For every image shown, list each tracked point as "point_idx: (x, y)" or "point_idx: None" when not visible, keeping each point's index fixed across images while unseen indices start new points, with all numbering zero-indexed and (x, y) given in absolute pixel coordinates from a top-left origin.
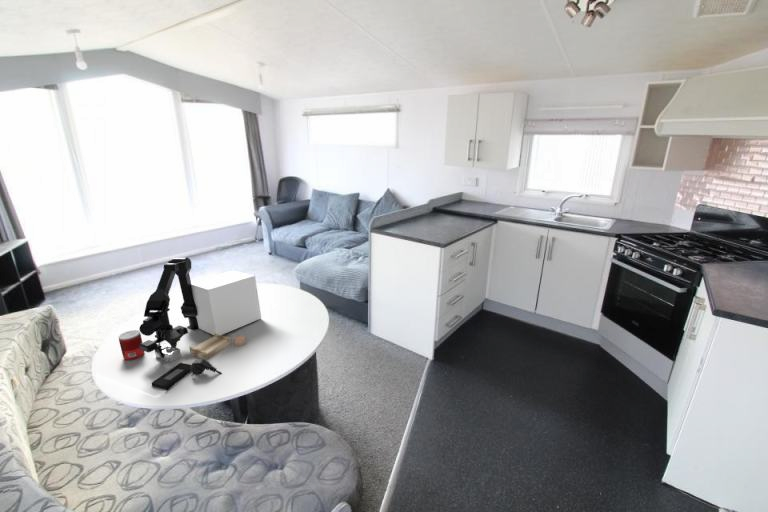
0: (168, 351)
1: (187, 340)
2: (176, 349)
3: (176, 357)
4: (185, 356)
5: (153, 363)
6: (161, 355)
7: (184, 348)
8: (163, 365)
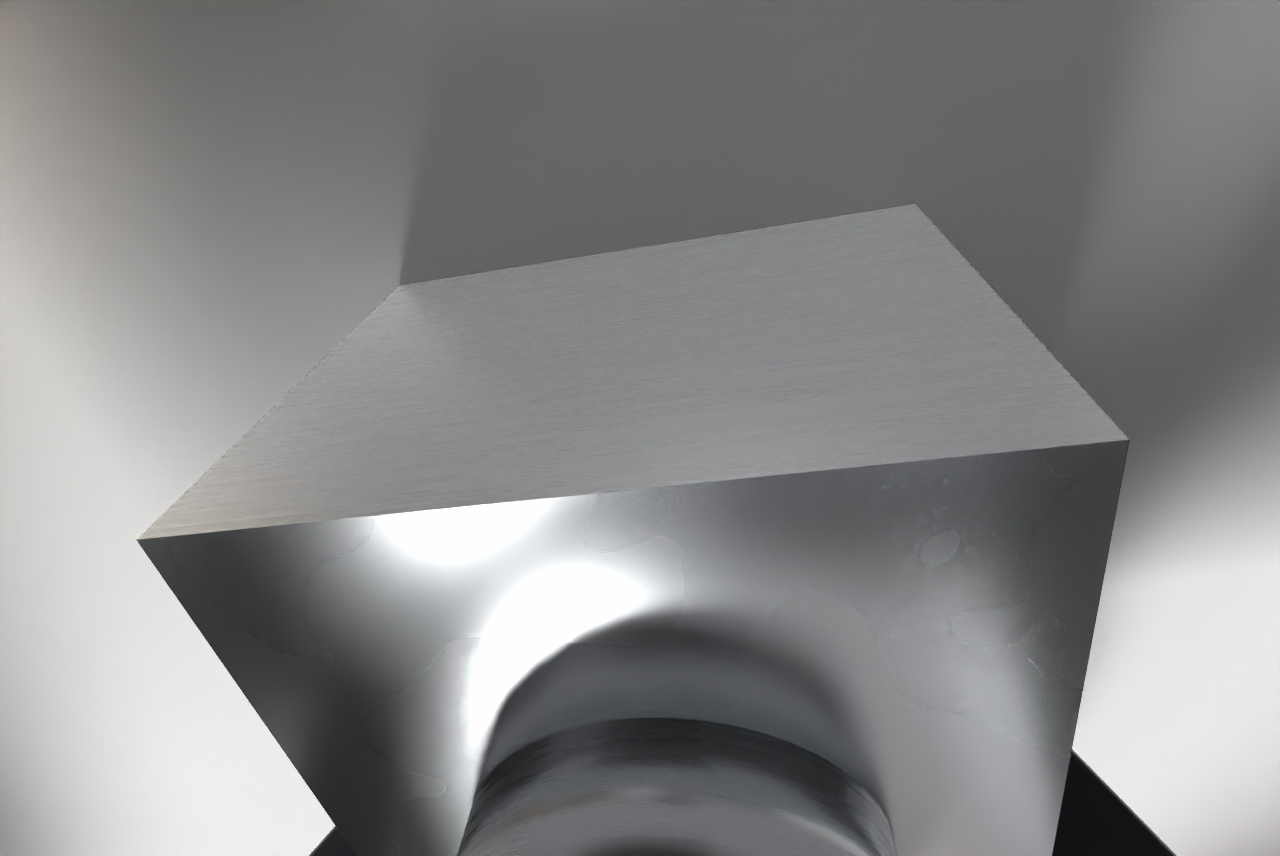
0: (858, 814)
1: (69, 842)
2: (357, 655)
3: (600, 285)
4: (253, 117)
5: (1225, 655)
6: (1109, 789)
7: (185, 640)
8: (1258, 238)
